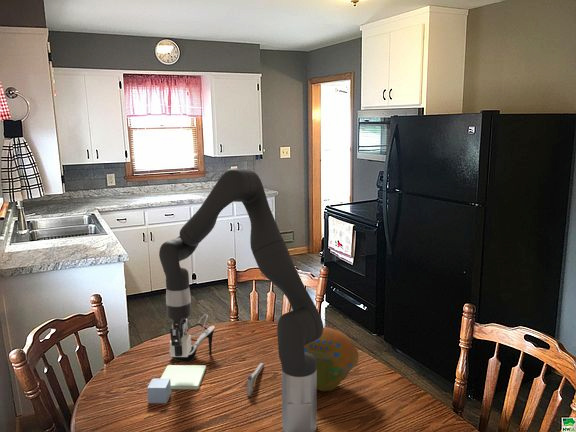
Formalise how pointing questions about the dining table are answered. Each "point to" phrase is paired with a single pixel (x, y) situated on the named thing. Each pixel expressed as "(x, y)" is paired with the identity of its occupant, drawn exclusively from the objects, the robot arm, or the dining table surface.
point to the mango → (332, 358)
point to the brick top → (159, 390)
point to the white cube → (185, 347)
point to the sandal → (198, 341)
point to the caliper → (253, 379)
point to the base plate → (184, 376)
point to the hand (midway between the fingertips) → (181, 351)
